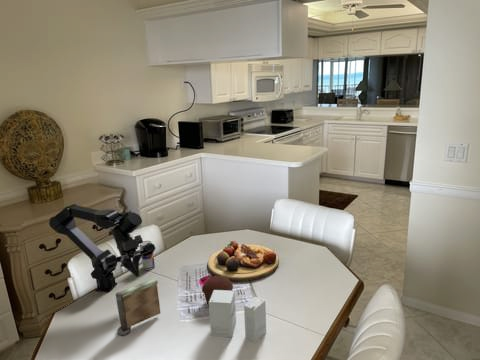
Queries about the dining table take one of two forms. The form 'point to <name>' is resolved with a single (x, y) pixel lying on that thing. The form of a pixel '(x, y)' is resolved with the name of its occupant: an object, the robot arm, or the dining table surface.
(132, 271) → the robot arm
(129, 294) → the gate panel
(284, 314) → the dining table surface
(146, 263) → the energy drink
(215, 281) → the muffin
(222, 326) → the supplement box
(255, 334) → the skincare box
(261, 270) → the wooden plate with food
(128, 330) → the gate pivot base
